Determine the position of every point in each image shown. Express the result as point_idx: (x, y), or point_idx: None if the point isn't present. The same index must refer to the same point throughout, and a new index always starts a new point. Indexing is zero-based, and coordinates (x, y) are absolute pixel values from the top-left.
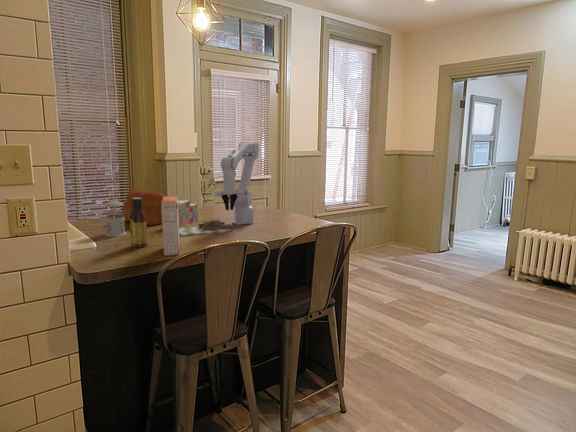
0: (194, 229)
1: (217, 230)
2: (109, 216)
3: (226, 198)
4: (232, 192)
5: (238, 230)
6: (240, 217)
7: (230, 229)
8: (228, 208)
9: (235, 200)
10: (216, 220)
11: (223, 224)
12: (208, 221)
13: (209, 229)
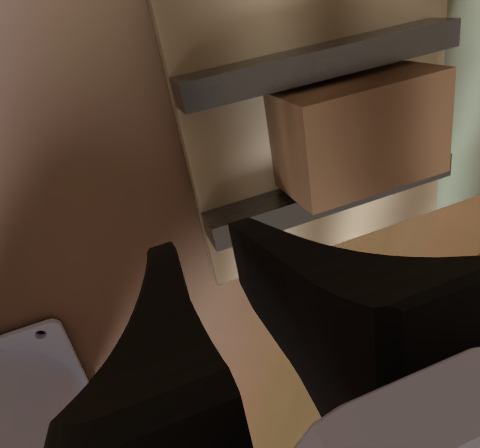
0: (469, 105)
1: (307, 9)
2: None
3: (437, 268)
4: (452, 438)
5: (56, 48)
6: (11, 396)
7: (161, 28)
8: (243, 227)
9: (116, 354)
10: (342, 124)
11: (219, 215)
12: (433, 77)
13: (383, 29)
